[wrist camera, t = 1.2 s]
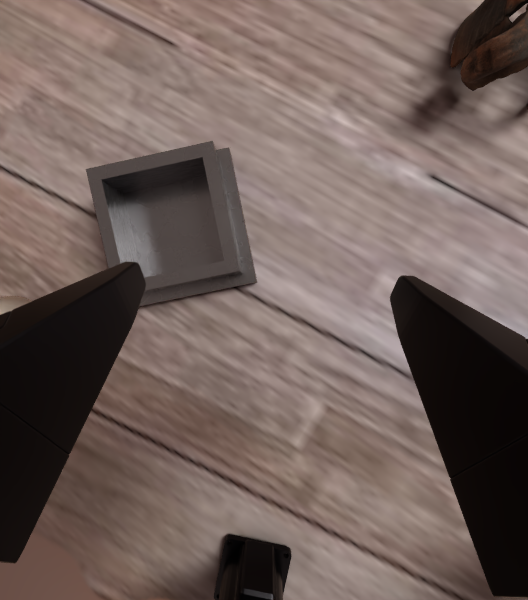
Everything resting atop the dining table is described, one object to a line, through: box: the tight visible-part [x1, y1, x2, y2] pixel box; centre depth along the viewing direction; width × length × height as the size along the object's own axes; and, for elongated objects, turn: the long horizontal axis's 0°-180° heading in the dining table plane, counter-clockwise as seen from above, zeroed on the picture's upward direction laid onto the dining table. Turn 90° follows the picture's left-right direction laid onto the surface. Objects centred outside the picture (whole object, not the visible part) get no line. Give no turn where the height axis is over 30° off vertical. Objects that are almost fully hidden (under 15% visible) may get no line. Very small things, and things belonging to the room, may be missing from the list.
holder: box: [86, 141, 257, 306], centre depth 21 cm, size 12×12×4 cm
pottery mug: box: [451, 0, 528, 108], centre depth 20 cm, size 12×10×8 cm
